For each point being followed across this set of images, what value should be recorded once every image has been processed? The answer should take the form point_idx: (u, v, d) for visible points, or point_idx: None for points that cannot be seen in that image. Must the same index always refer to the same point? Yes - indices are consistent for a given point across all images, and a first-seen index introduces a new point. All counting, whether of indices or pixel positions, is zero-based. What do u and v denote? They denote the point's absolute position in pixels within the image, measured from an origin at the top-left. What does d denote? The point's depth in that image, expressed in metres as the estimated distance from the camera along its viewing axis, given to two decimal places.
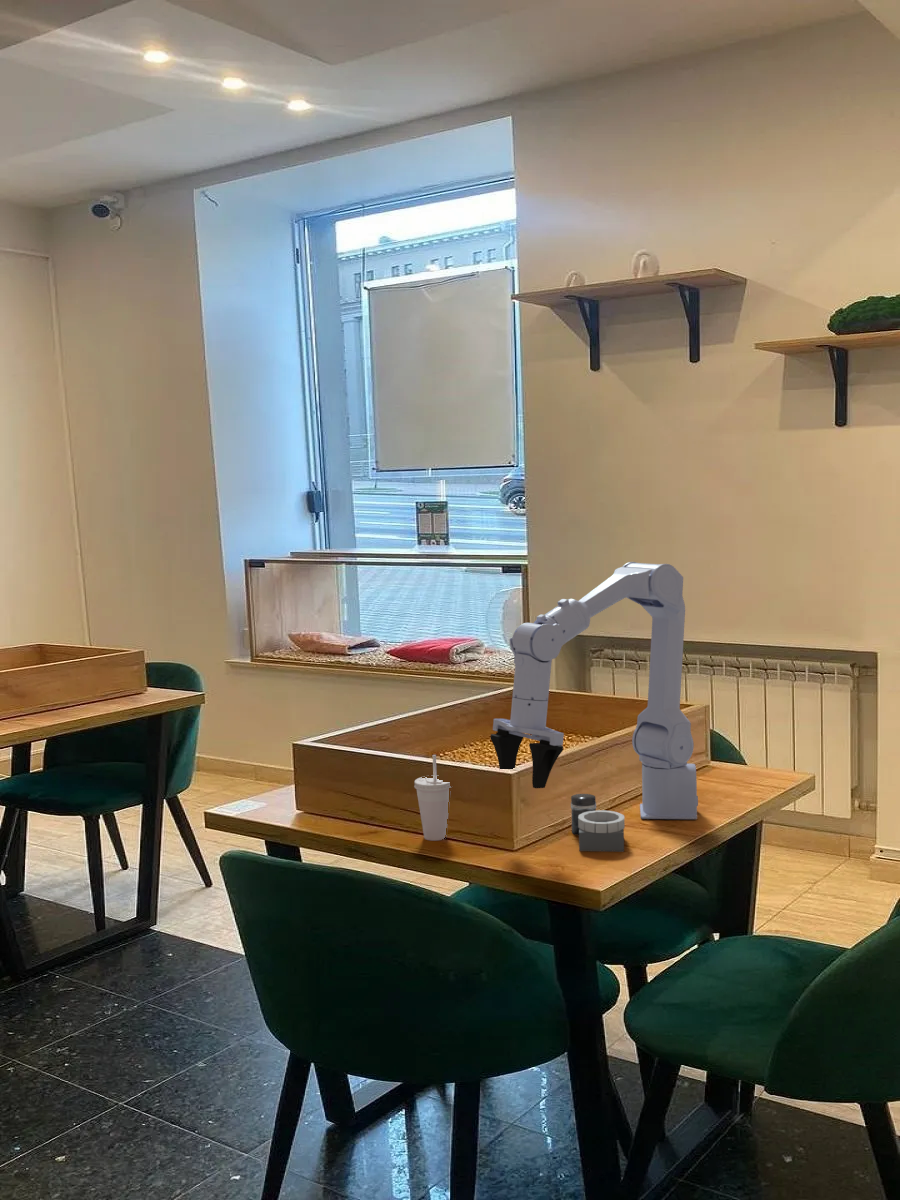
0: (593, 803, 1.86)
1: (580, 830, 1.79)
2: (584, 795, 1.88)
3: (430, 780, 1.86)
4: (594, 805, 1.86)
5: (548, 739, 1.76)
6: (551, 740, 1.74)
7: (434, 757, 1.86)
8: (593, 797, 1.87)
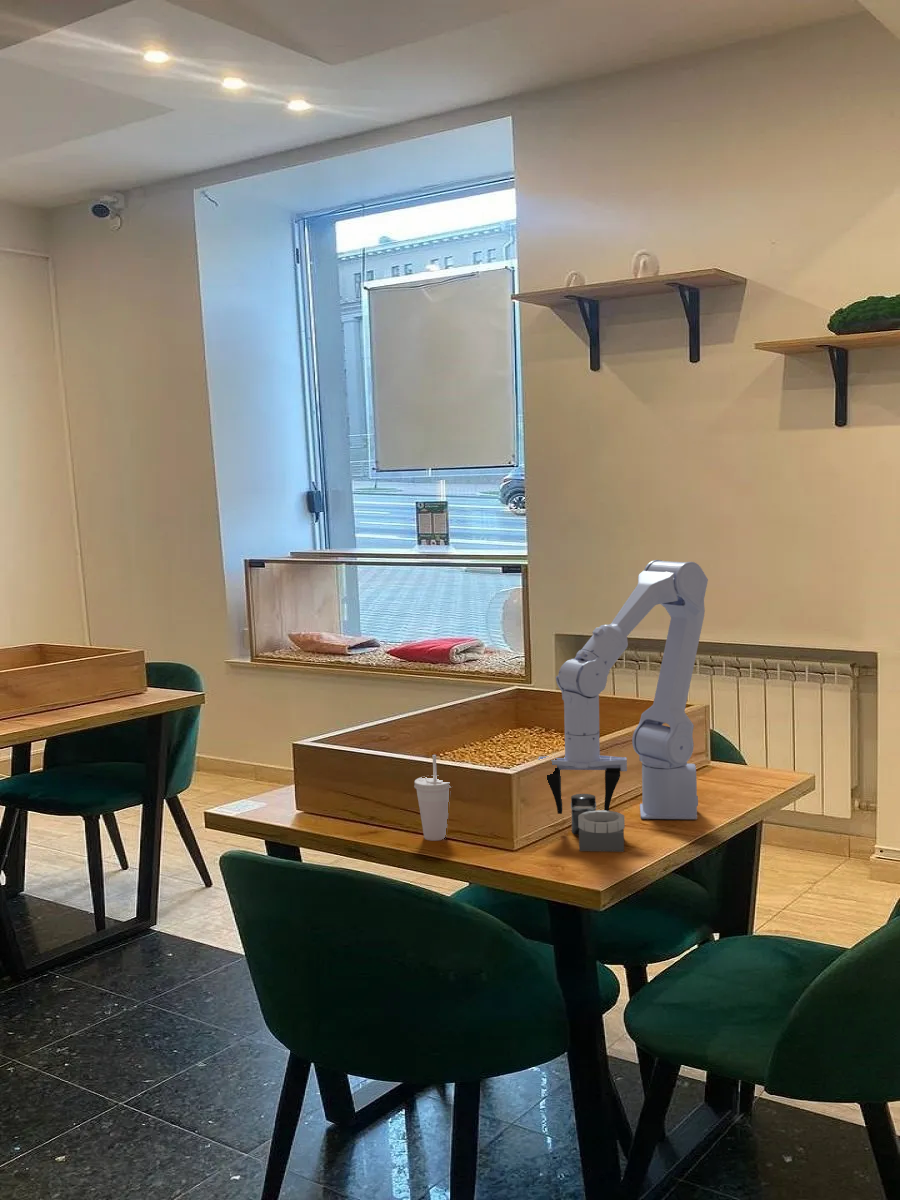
0: (593, 803, 1.86)
1: (580, 830, 1.79)
2: (584, 795, 1.88)
3: (430, 780, 1.86)
4: (594, 805, 1.86)
5: (614, 766, 1.86)
6: (623, 767, 1.85)
7: (434, 757, 1.86)
8: (593, 797, 1.87)
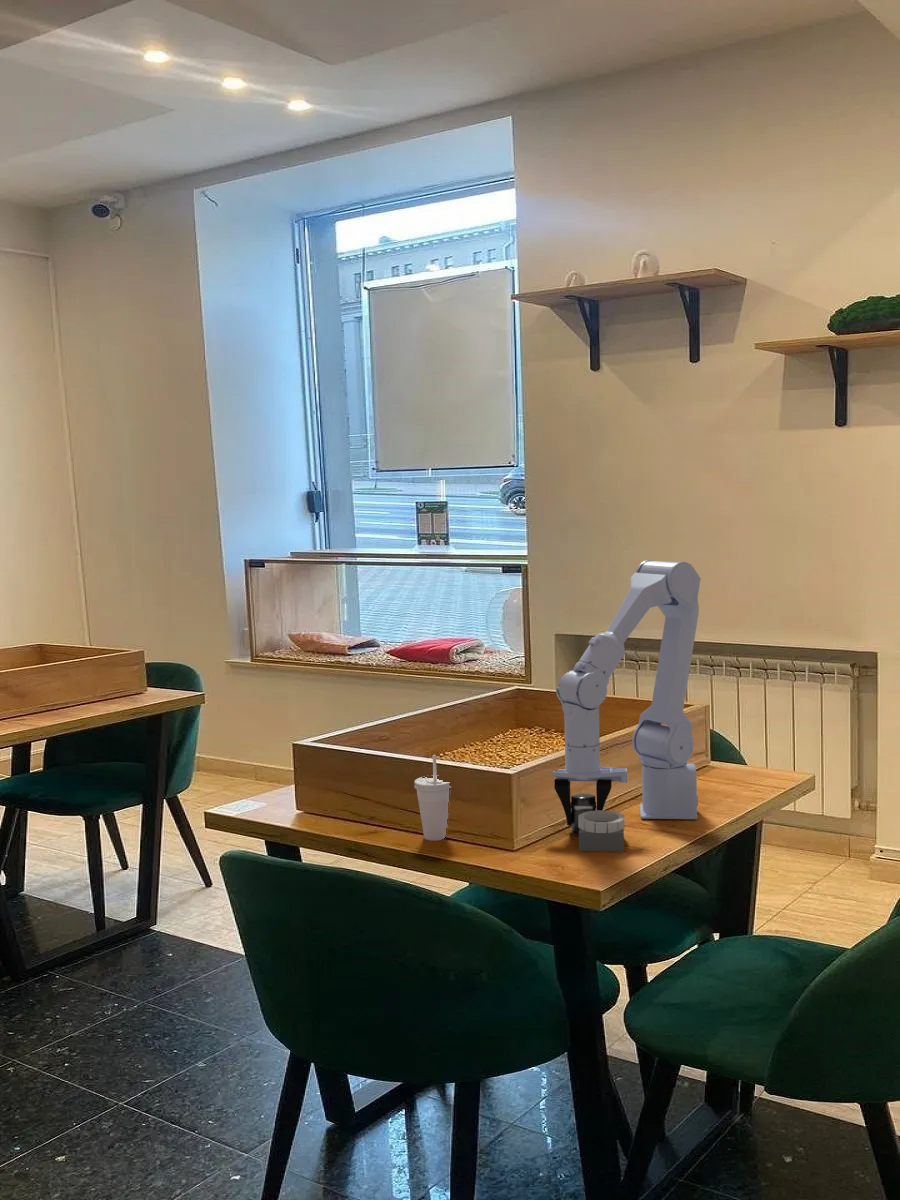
0: (593, 803, 1.86)
1: (580, 830, 1.79)
2: (584, 795, 1.88)
3: (430, 780, 1.86)
4: (594, 805, 1.86)
5: (614, 777, 1.86)
6: (623, 778, 1.85)
7: (434, 757, 1.86)
8: (593, 797, 1.87)
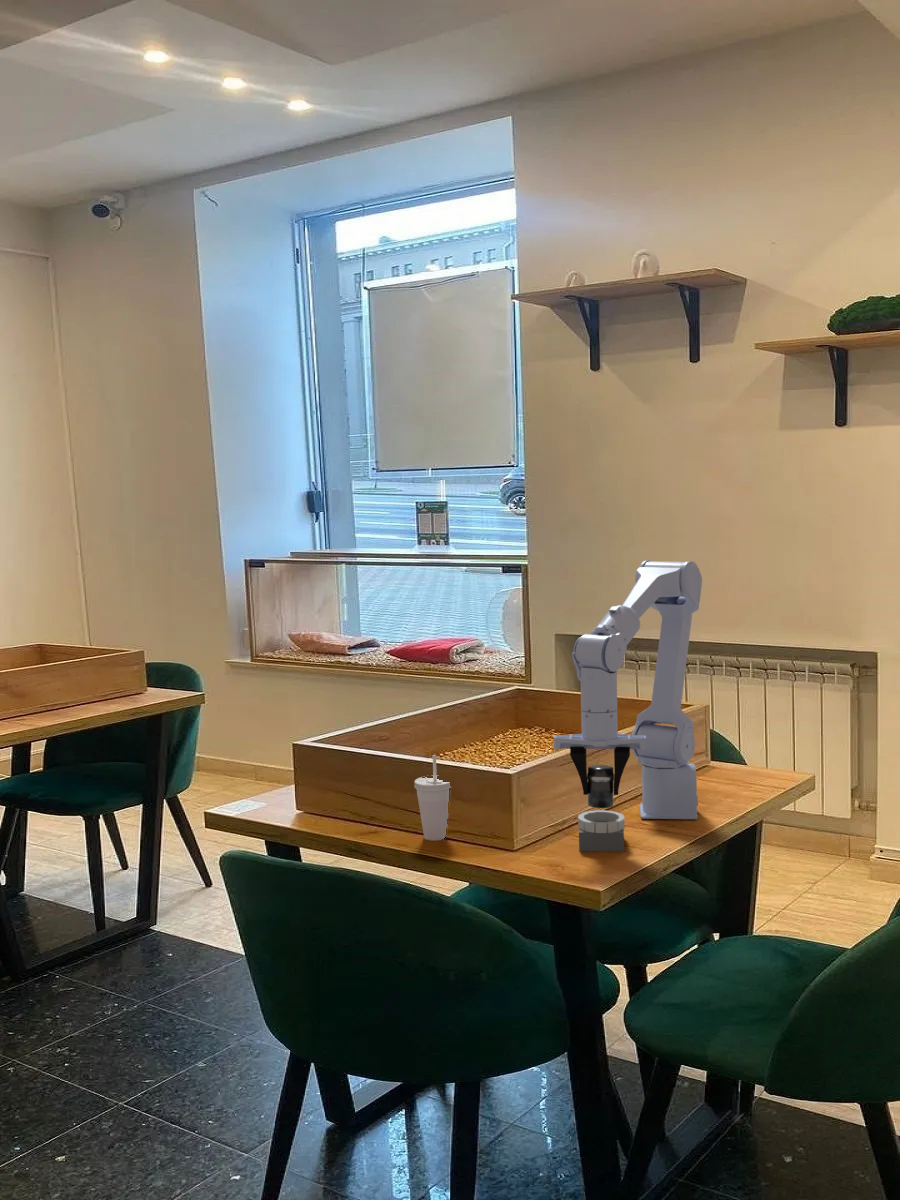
0: (611, 774, 1.79)
1: (580, 830, 1.79)
2: (601, 766, 1.81)
3: (430, 780, 1.86)
4: (612, 776, 1.79)
5: (633, 745, 1.79)
6: (642, 745, 1.78)
7: (434, 757, 1.86)
8: (611, 768, 1.80)
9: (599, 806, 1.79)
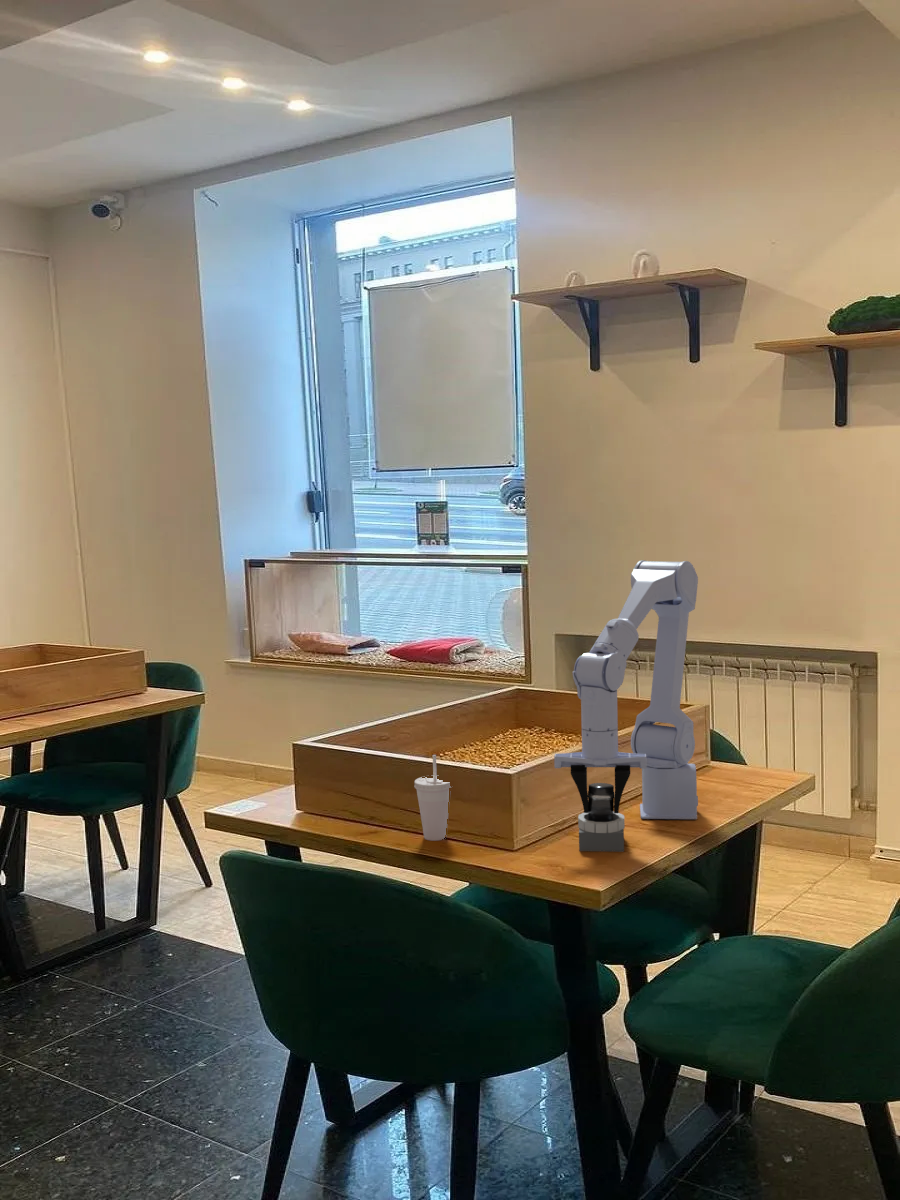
0: (612, 792, 1.79)
1: (580, 830, 1.79)
2: (601, 784, 1.81)
3: (430, 780, 1.86)
4: (612, 794, 1.80)
5: (633, 763, 1.79)
6: (642, 764, 1.78)
7: (434, 757, 1.86)
8: (611, 786, 1.80)
9: None
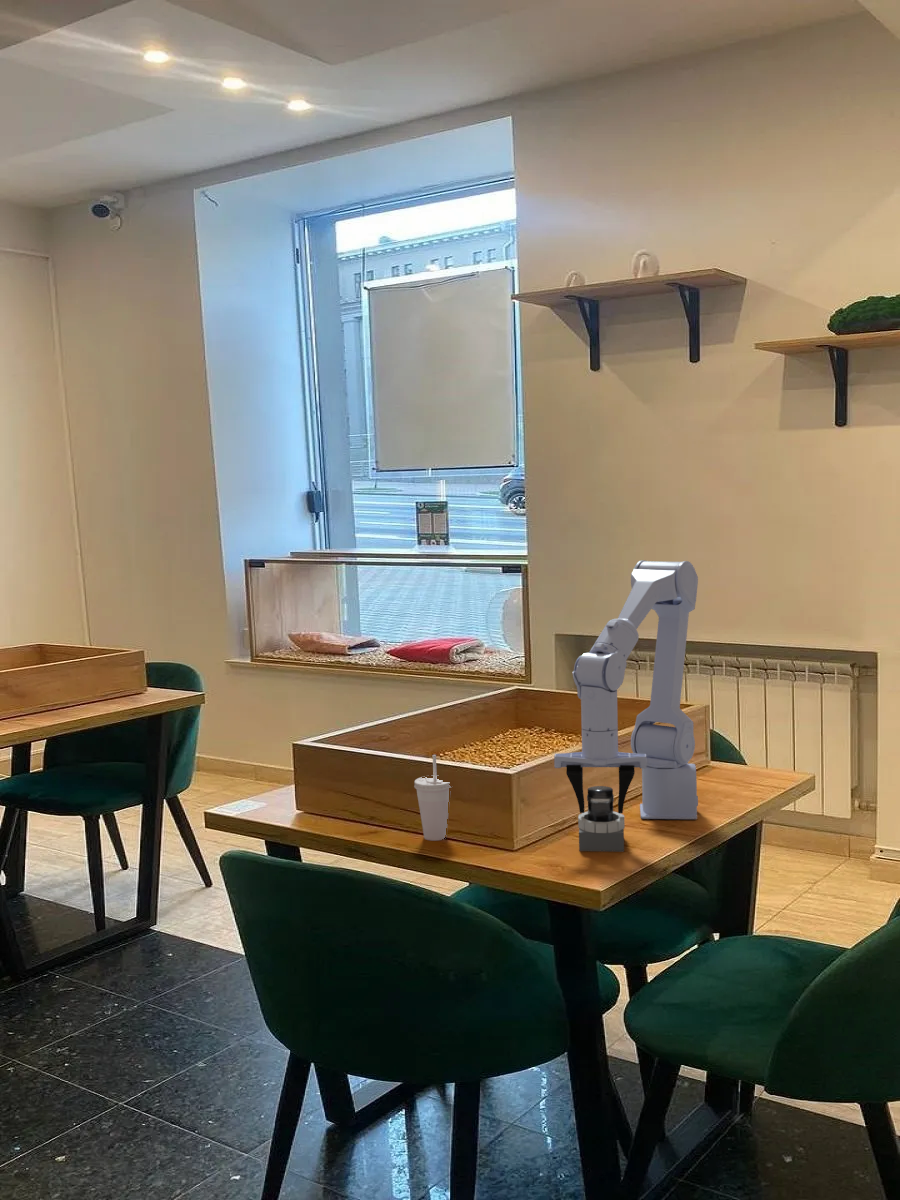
0: (611, 795, 1.79)
1: (580, 830, 1.79)
2: (601, 787, 1.81)
3: (430, 780, 1.86)
4: (612, 797, 1.80)
5: (633, 763, 1.79)
6: (642, 764, 1.78)
7: (434, 757, 1.86)
8: (610, 789, 1.80)
9: None
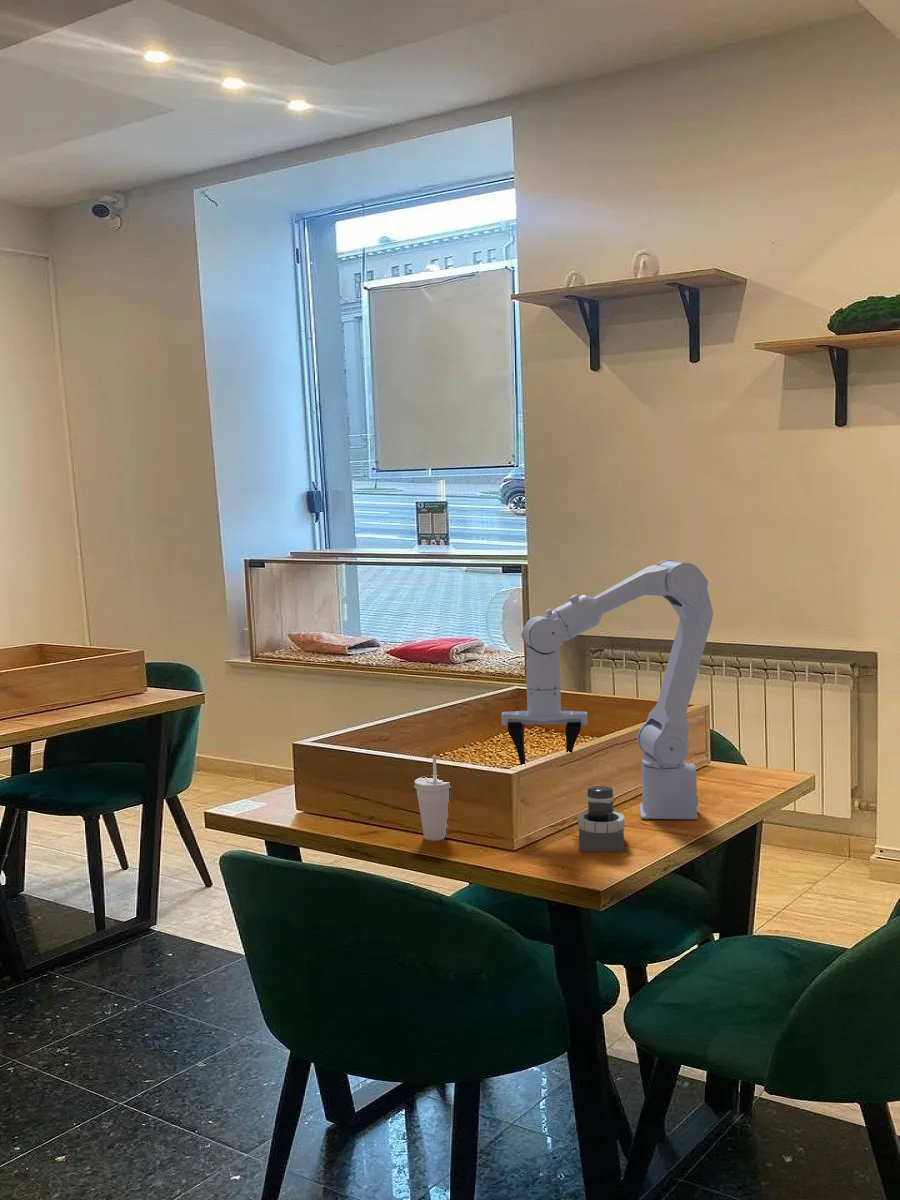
0: (611, 795, 1.79)
1: (580, 830, 1.79)
2: (600, 787, 1.81)
3: (430, 780, 1.86)
4: (612, 797, 1.80)
5: (575, 720, 1.91)
6: (583, 720, 1.90)
7: (434, 757, 1.86)
8: (610, 789, 1.80)
9: None
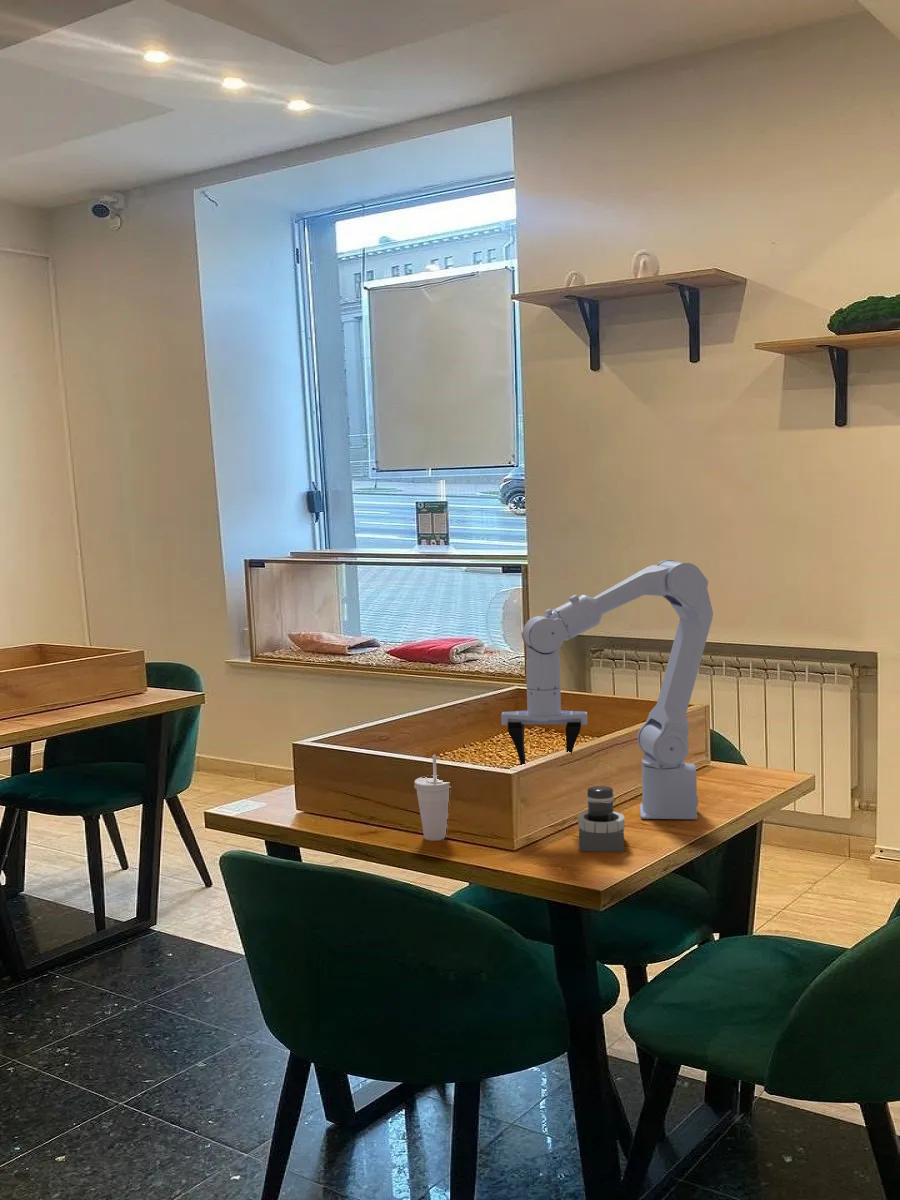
0: (611, 795, 1.79)
1: (580, 830, 1.79)
2: (600, 787, 1.81)
3: (430, 780, 1.86)
4: (612, 797, 1.80)
5: (575, 720, 1.91)
6: (583, 720, 1.90)
7: (434, 757, 1.86)
8: (610, 789, 1.80)
9: None
